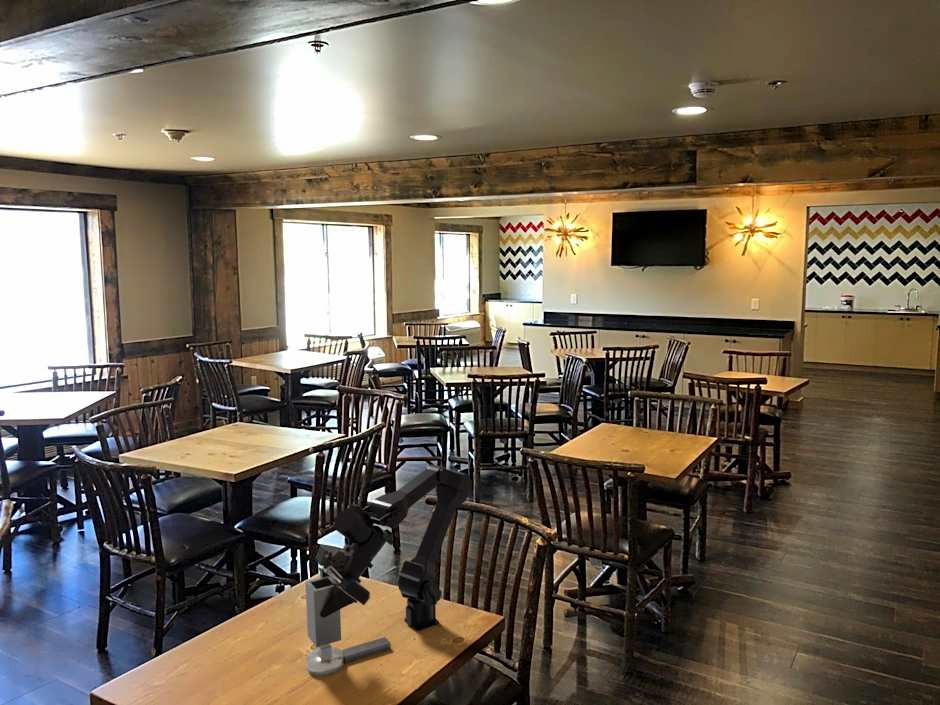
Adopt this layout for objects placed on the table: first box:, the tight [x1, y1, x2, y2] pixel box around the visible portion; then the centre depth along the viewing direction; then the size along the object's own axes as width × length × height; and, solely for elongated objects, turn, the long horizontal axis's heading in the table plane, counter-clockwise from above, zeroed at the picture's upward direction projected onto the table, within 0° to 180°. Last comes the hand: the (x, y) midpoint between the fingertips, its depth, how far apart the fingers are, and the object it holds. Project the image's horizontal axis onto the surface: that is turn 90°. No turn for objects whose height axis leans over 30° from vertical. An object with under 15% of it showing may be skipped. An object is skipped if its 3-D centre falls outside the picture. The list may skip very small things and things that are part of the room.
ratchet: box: [305, 636, 392, 677], centre depth 157 cm, size 19×8×4 cm, turn 121°
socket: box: [304, 576, 342, 649], centre depth 153 cm, size 6×6×12 cm
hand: (317, 611), depth 153 cm, fingers closed on socket, 6 cm apart
